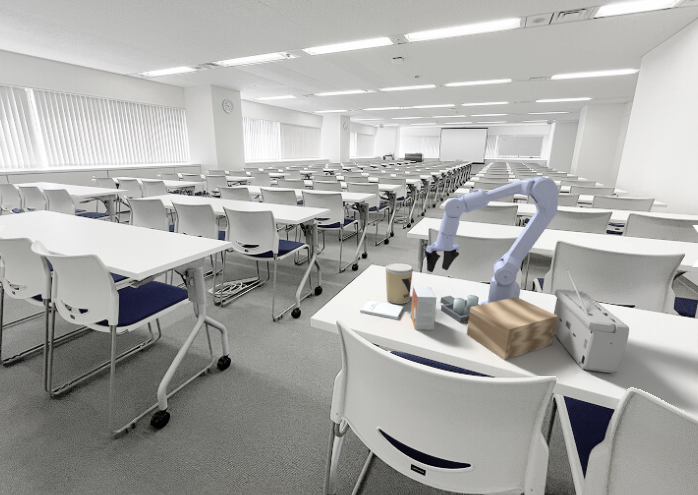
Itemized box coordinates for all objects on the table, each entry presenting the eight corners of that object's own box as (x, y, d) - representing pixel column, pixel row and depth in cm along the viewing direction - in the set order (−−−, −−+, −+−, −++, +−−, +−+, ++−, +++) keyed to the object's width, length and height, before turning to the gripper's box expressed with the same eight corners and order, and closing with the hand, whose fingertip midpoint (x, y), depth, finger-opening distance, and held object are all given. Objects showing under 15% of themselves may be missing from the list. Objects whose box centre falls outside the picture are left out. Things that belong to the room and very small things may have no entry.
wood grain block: (511, 322, 101) (516, 296, 98) (551, 344, 89) (557, 315, 87) (466, 334, 94) (470, 307, 91) (504, 359, 82) (509, 329, 80)
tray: (458, 298, 117) (460, 285, 116) (489, 316, 105) (491, 301, 103) (431, 304, 112) (432, 290, 111) (460, 323, 100) (462, 307, 99)
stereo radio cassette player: (619, 377, 76) (641, 299, 71) (580, 373, 78) (599, 295, 72) (575, 331, 96) (590, 267, 91) (545, 328, 98) (558, 265, 92)
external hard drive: (397, 321, 102) (359, 313, 106) (403, 310, 109) (368, 303, 113) (397, 316, 101) (360, 309, 106) (403, 305, 108) (368, 299, 113)
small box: (410, 316, 103) (412, 285, 101) (428, 317, 103) (430, 286, 100) (414, 329, 96) (417, 296, 93) (433, 330, 96) (436, 297, 93)
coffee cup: (407, 306, 109) (408, 272, 106) (380, 302, 113) (381, 268, 110) (414, 297, 117) (416, 264, 114) (389, 292, 121) (390, 261, 118)
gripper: (452, 229, 117) (442, 264, 122) (423, 230, 109) (414, 267, 114) (468, 235, 112) (457, 271, 116) (439, 237, 104) (429, 275, 108)
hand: (437, 270), depth 115 cm, fingers open, 7 cm apart
